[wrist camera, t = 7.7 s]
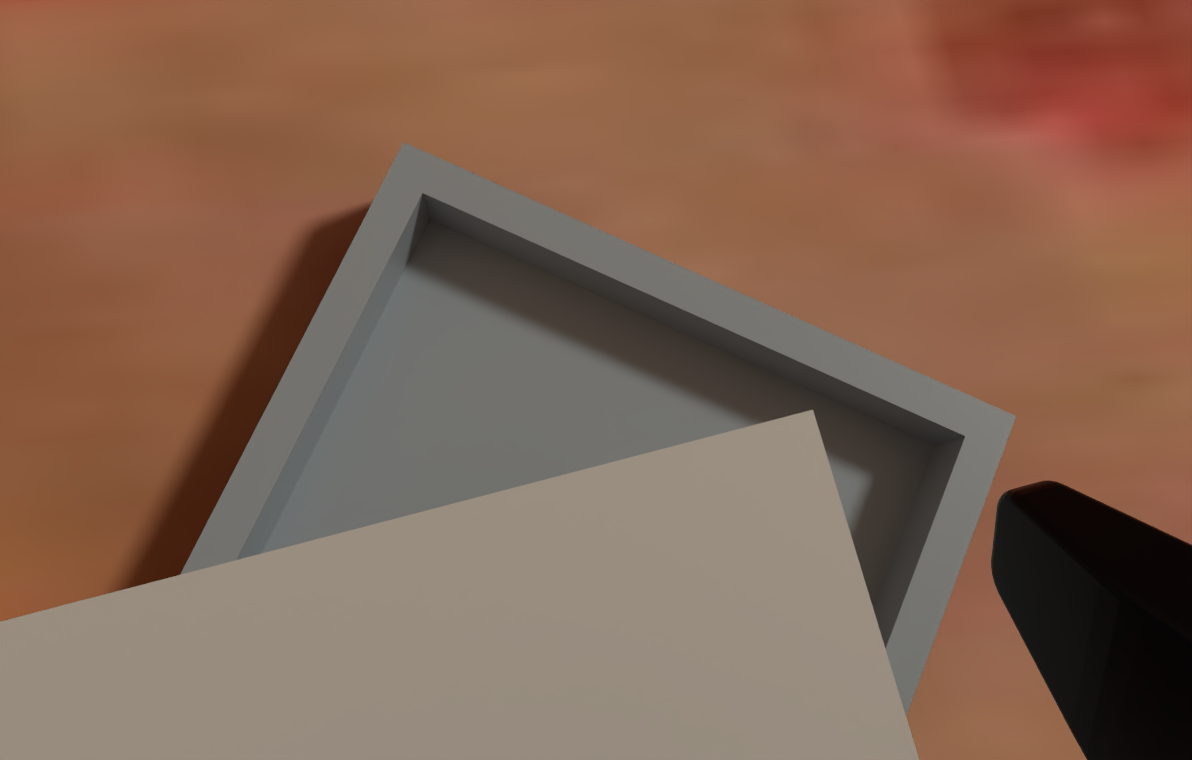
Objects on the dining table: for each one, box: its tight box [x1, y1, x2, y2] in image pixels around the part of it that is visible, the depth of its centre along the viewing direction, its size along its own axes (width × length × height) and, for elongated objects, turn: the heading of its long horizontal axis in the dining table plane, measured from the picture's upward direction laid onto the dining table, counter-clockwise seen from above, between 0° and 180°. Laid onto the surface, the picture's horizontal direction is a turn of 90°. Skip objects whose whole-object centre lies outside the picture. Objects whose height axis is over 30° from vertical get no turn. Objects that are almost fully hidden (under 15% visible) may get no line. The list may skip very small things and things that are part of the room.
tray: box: [180, 142, 1016, 715], centre depth 16 cm, size 14×10×2 cm
